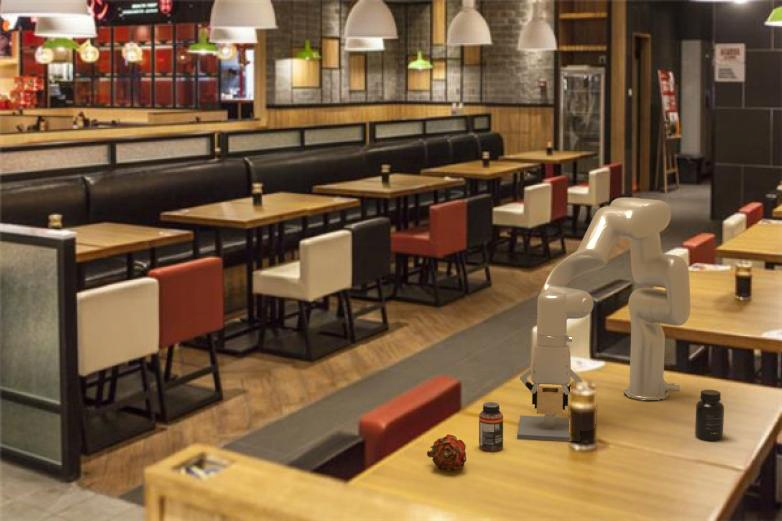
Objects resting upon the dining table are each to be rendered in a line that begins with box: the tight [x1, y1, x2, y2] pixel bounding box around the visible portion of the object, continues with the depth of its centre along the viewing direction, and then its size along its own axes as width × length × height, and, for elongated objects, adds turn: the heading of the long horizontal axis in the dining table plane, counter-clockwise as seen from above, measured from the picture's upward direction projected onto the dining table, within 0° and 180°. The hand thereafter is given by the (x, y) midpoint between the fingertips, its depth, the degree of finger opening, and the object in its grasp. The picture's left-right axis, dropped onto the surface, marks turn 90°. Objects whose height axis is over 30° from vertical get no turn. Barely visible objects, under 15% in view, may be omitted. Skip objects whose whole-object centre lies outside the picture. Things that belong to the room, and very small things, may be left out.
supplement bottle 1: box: [478, 401, 504, 453], centre depth 248 cm, size 6×6×11 cm
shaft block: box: [516, 391, 570, 443], centre depth 262 cm, size 16×16×10 cm
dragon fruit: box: [426, 433, 467, 472], centre depth 236 cm, size 8×8×12 cm
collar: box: [536, 385, 564, 416], centre depth 261 cm, size 6×6×6 cm
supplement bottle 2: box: [694, 389, 725, 442], centre depth 255 cm, size 7×7×12 cm
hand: (549, 407), depth 261 cm, fingers closed on collar, 6 cm apart
